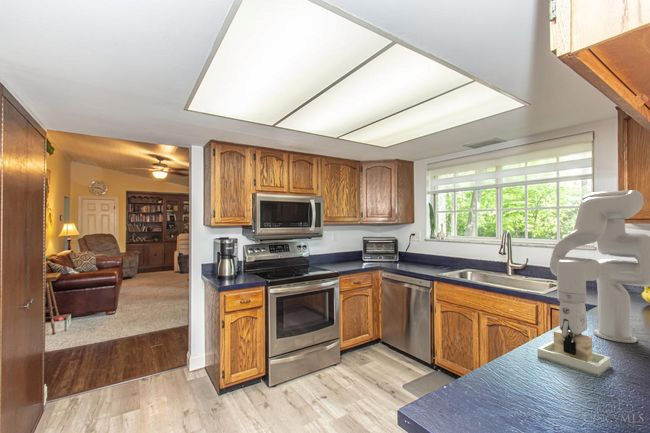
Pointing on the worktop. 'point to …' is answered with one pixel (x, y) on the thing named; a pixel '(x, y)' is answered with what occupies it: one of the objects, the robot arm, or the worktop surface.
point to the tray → (576, 360)
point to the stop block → (581, 346)
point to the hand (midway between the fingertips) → (572, 350)
